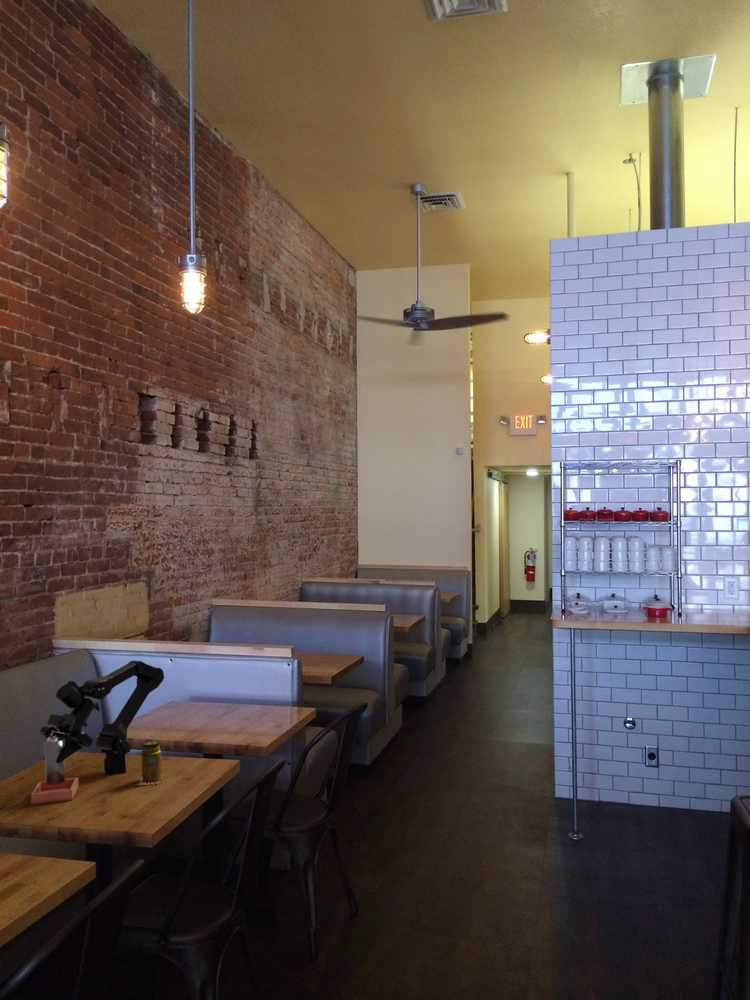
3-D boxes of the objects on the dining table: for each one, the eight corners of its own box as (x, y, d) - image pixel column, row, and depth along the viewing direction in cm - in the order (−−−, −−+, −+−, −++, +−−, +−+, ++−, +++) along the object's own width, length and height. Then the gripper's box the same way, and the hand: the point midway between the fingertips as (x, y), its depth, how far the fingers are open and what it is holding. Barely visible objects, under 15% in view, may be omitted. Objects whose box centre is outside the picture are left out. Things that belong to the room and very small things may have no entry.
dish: (78, 787, 247) (78, 777, 247) (72, 800, 236) (72, 790, 236) (39, 791, 245) (39, 781, 245) (31, 804, 234) (31, 794, 234)
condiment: (165, 775, 255) (164, 739, 255) (159, 785, 246) (157, 746, 246) (143, 777, 254) (141, 740, 255) (135, 786, 246) (134, 748, 246)
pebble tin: (69, 778, 243) (67, 734, 243) (57, 785, 237) (55, 739, 237) (53, 778, 244) (51, 733, 244) (41, 784, 239) (39, 739, 239)
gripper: (43, 700, 249) (13, 745, 239) (83, 705, 240) (54, 752, 230) (65, 718, 256) (37, 762, 246) (105, 724, 246) (77, 770, 237)
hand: (50, 761), depth 239 cm, fingers closed on pebble tin, 6 cm apart
